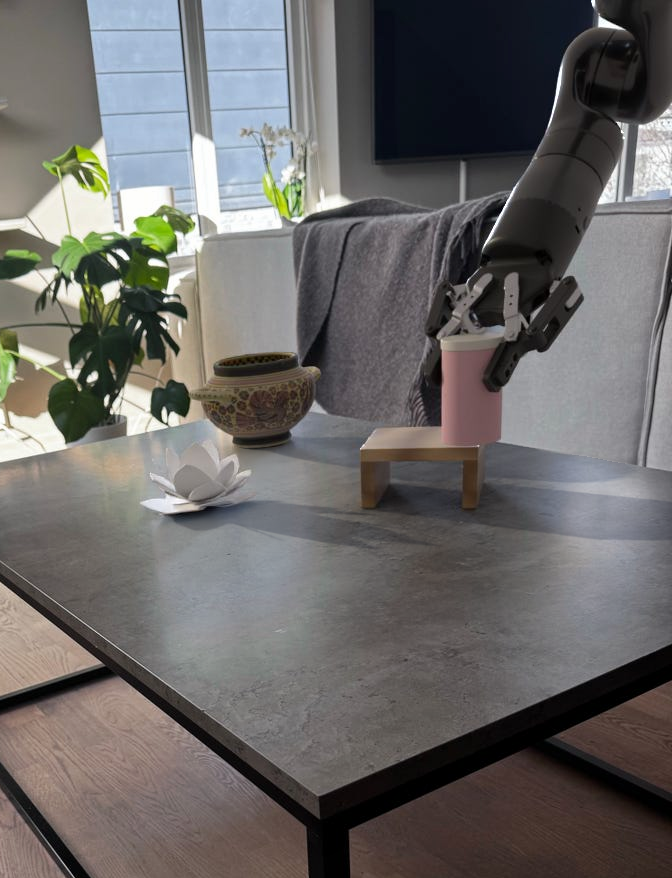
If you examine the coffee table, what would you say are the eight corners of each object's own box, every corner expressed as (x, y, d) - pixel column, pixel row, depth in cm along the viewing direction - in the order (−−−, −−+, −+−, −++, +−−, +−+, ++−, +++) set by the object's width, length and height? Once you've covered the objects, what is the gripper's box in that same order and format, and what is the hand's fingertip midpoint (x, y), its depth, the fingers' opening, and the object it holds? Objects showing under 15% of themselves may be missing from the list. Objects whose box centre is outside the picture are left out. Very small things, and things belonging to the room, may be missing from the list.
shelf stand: (484, 482, 112) (485, 424, 109) (476, 508, 103) (478, 446, 100) (377, 482, 117) (376, 427, 114) (361, 508, 107) (359, 449, 104)
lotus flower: (117, 514, 115) (112, 443, 112) (200, 497, 125) (198, 432, 122) (197, 525, 105) (194, 448, 102) (281, 506, 115) (280, 435, 112)
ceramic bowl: (299, 438, 157) (280, 349, 154) (365, 423, 141) (346, 324, 138) (177, 469, 146) (154, 374, 143) (234, 456, 131) (210, 350, 128)
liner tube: (503, 431, 85) (506, 330, 81) (500, 445, 80) (503, 338, 77) (443, 433, 87) (444, 334, 83) (437, 447, 82) (437, 343, 79)
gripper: (456, 202, 85) (375, 357, 83) (606, 185, 74) (516, 362, 73) (488, 258, 90) (412, 404, 88) (632, 249, 79) (549, 415, 78)
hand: (460, 384), depth 80 cm, fingers closed on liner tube, 5 cm apart
